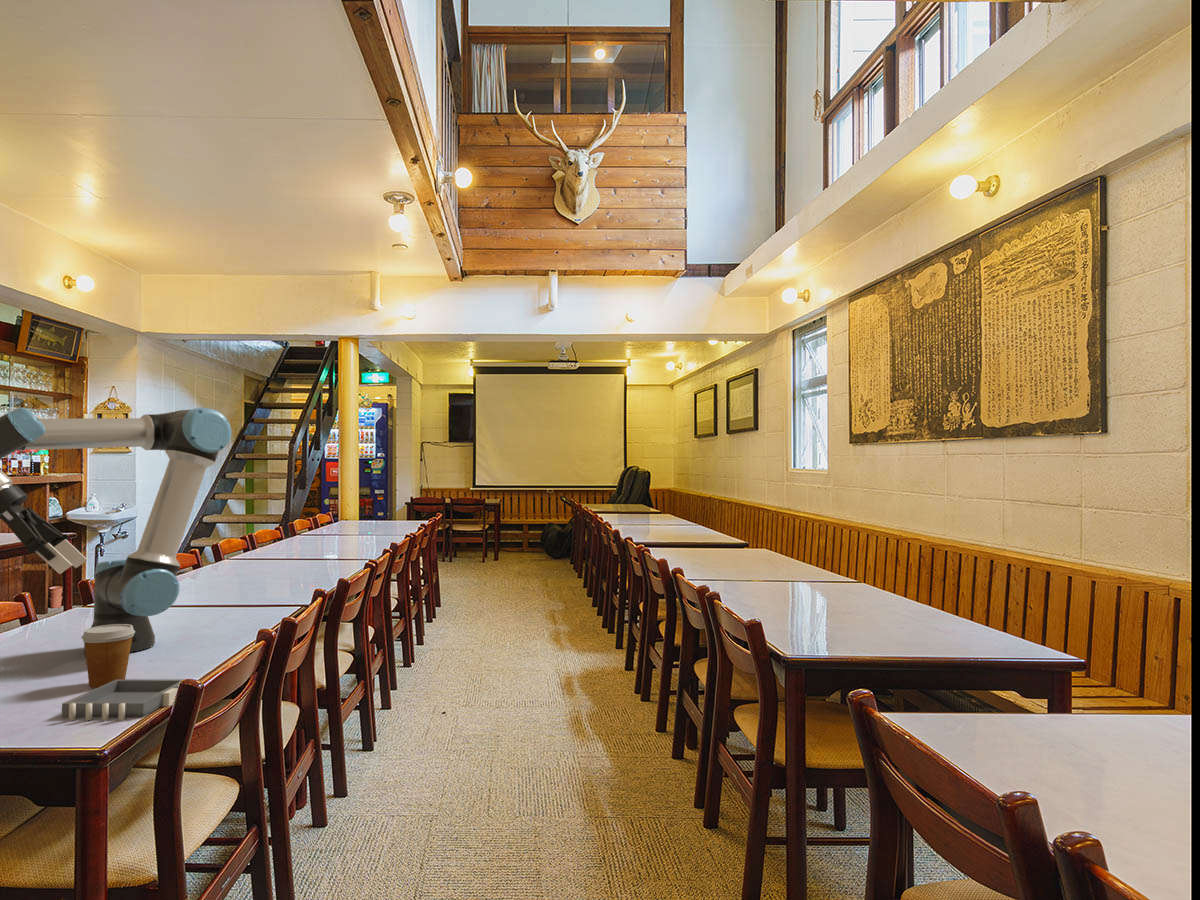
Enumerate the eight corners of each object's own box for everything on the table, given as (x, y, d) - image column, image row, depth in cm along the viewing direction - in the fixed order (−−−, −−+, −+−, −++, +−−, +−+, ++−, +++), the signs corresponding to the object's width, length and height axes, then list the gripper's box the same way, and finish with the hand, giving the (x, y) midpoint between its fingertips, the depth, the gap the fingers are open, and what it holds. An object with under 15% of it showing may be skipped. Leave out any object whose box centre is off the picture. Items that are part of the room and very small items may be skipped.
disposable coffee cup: (98, 677, 152) (100, 623, 153) (143, 677, 153) (144, 623, 154) (68, 691, 143) (70, 633, 143) (116, 690, 144) (118, 633, 144)
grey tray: (115, 691, 143) (116, 677, 143) (194, 691, 143) (194, 677, 143) (53, 721, 126) (53, 704, 126) (142, 721, 126) (143, 704, 126)
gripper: (-1, 505, 155) (72, 573, 160) (-46, 507, 133) (40, 585, 138) (31, 484, 158) (102, 550, 163) (-7, 481, 136) (76, 559, 141)
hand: (74, 566), depth 151 cm, fingers open, 13 cm apart
